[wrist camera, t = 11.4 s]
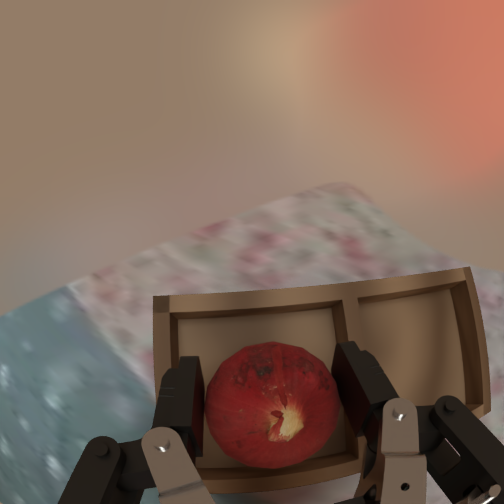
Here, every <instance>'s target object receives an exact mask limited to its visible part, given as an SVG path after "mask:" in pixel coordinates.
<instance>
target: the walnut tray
mask: <svg viewBox="0 0 504 504" xmlns="http://www.w3.org/2000/svg"><path fill="white" fill-rule="evenodd" d="M271 341H274V342H279V343H283V344H288V345H293V346H297V347H302V348H304V349H305V350H307V351H308V352H310V353H311V354H313V355H314V356H316V357H317V358H319V359H320V360H321V361H323V362H324V364H325V365H326V367H327V369H328V370H329V372H330V373H331V367H332V362H333V356H334V351H335V346H336V344H337V343H342V342H348V341H355V343H356V344H357V346H358V347H359V349H360V351H363V350H367V351H368V352H369V353H371V354H372V355H373V356H375V358H376V360H377V361H378V363H379V364H380V366H381V368H382V369H383V371H384V373H385V374H386V376H387V377H388V379H389V380H390V382H391V384H392V385H393V387H394V389H395V390H396V392H397V394H398V395H399V397H400V398H404V399H407V400H409V401H411V402H412V403H413V404H414V405H415V406H426V405H434V404H435V403H436V401H437V400H438V399H439V398H440V397H442V396H445V395H451V396H454V397H456V398H458V399H459V400H460V401H461V402H462V403H463V404H464V405H465V406H466V407H467V408H468V409H469V410H470V411H471V412H472V413H473V414H474V415H475V416H476V417H477V418H478V419H479V418H481V417H482V416H484V415H485V414H487V413H489V412H490V411H491V393H490V374H489V363H488V353H487V345H486V338H485V332H484V326H483V320H482V315H481V310H480V305H479V300H478V296H477V292H476V287H475V283H474V280H473V276H472V272H471V269H470V267H464V268H458V269H451V270H444V271H438V272H430V273H423V274H416V275H408V276H400V277H392V278H384V279H376V280H367V281H358V282H349V283H339V284H329V285H319V286H308V287H296V288H284V289H272V290H258V291H244V292H228V293H211V294H191V295H168V296H153V353H154V377H155V393H156V404H157V399H158V397H159V390H160V385H161V380H162V377H163V375H164V374H165V373H166V371H167V370H168V369H169V368H178V366H179V360H180V357H181V356H199V359H200V364H201V369H202V374H203V379H204V385H205V397H206V391H207V386H208V384H209V382H210V381H211V379H212V378H213V376H214V374H215V373H216V371H217V369H218V368H219V366H220V364H221V363H222V362H223V361H225V360H226V359H228V358H229V357H231V356H232V355H233V354H235V353H236V352H238V351H239V350H241V349H242V348H244V347H245V346H251V345H256V344H261V343H266V342H271ZM339 399H340V398H339ZM340 404H341V406H340V411H339V416H338V421H337V426H336V429H335V430H334V432H333V433H332V434H331V436H330V437H329V439H328V440H327V442H326V443H325V444H324V446H323V447H322V448H321V449H320V450H319V451H317V452H316V453H314V454H313V455H311V456H310V457H308V458H307V459H305V460H304V461H302V462H301V463H297V464H293V465H289V466H285V467H281V468H276V469H270V468H259V467H250V466H247V465H245V464H243V463H241V462H239V461H237V460H235V459H233V458H231V457H229V456H227V455H226V454H225V453H224V452H223V451H222V449H221V448H220V447H219V445H218V444H217V443H216V441H215V440H214V438H213V437H212V435H211V434H210V431H209V428H208V424H207V421H206V417H205V414H204V431H203V457H196V462H195V468H196V470H197V472H198V474H199V476H200V478H201V480H202V481H203V483H204V485H205V486H206V488H207V490H208V492H209V493H210V494H230V493H250V492H262V491H272V490H280V489H287V488H294V487H300V486H305V485H311V484H316V483H321V482H325V481H330V480H334V479H338V478H342V477H346V476H349V475H353V474H356V473H360V472H361V468H362V461H363V454H364V446H365V443H366V441H367V440H366V438H365V436H361V437H358V438H356V437H355V435H354V432H353V430H352V427H351V425H350V422H349V420H348V417H347V415H346V412H345V410H344V408H343V405H342V403H341V400H340Z"/></svg>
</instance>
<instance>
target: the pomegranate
mask: <svg viewBox="0 0 504 504" xmlns="http://www.w3.org/2000/svg"><path fill="white" fill-rule="evenodd" d="M340 406H341V404H340V399H339V394H338V389H337V384H336V381H335V380H334V378H333V377H332V375H331V373H330V372H329V370H328V369H327V367H326V365H325V364H324V362H323V361H321V360H320V359H319V358H317V357H316V356H314V355H313V354H311V353H310V352H308V351H307V350H305V349H304V348H302V347H297V346H293V345H288V344H283V343H279V342H274V341H271V342H266V343H261V344H256V345H251V346H245V347H244V348H242V349H241V350H239V351H238V352H236V353H235V354H233V355H232V356H231V357H229V358H228V359H226V360H225V361H223V362H222V363H221V364H220V366H219V368H218V369H217V371H216V373H215V374H214V376H213V378H212V379H211V381H210V382H209V384H208V386H207V391H206V397H205V404H204V414H205V417H206V421H207V424H208V428H209V431H210V434H211V435H212V437H213V438H214V440H215V441H216V443H217V444H218V445H219V447H220V448H221V449H222V451H223V452H224V453H225V454H226V455H227V456H229V457H231V458H233V459H235V460H237V461H239V462H241V463H243V464H245V465H247V466H250V467H259V468H270V469H276V468H281V467H285V466H289V465H293V464H297V463H301V462H302V461H304V460H305V459H307V458H308V457H310V456H311V455H313V454H314V453H316V452H317V451H319V450H320V449H321V448H322V447H323V446H324V444H325V443H326V442H327V440H328V439H329V437H330V436H331V434H332V433H333V432H334V430H335V429H336V426H337V421H338V416H339V411H340Z"/></svg>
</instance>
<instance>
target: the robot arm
mask: <svg viewBox="0 0 504 504" xmlns="http://www.w3.org/2000/svg"><path fill="white" fill-rule="evenodd" d="M331 375H332V377H333V378H334V380H335V381H336V384H337V389H338V394H339V398H340V400H341V403H342V405H343V408H344V410H345V412H346V415H347V417H348V420H349V422H350V425H351V427H352V430H353V432H354V435H355V437H356V438H358V437H361V436H365V438H366V440H367V441H366V443H365V446H364V454H363V461H362V468H361V475H360V481H359V484H358V487H357V489H356V492H355V495H354V498H352V499H349V500H345V501H342V502H338V503H334V504H426V479H427V471H428V472H429V474H430V475H431V476H432V478H433V479H434V480H435V482H436V483H437V484H438V485H439V487H440V488H441V489H442V491H443V492H444V493H445V495H446V496H447V497H448V499H449V500H450V501H451V503H452V504H504V445H503V444H502V443H501V442H500V441H499V440H498V439H497V438H496V437H495V436H494V435H493V434H492V433H491V432H490V431H489V429H488V428H487V427H486V426H485V425H484V424H483V423H482V422H481V421H480V420H479V419H478V418H477V417H476V416H475V415H474V414H473V413H472V412H471V411H470V410H469V409H468V408H467V407H466V406H465V405H464V404H463V403H462V402H461V401H460V400H459V399H458V398H456V397H454V396H451V395H445V396H442V397H440V398H439V399H438V400H437V401H436V403H435V404H434V405H426V406H415V405H414V404H413V403H412V402H411V401H409V400H407V399H404V398H400V397H399V395H398V394H397V392H396V390H395V389H394V387H393V385H392V384H391V382H390V380H389V379H388V377H387V376H386V374H385V373H384V371H383V369H382V368H381V366H380V364H379V363H378V361H377V360H376V358H375V356H373V355H372V354H371V353H369V352H368V351H367V350H363V351H360V349H359V347H358V346H357V344H356V343H355V341H348V342H342V343H337V344H336V346H335V351H334V356H333V362H332V367H331ZM204 404H205V385H204V379H203V374H202V369H201V364H200V359H199V356H181V357H180V360H179V366H178V368H169V369H168V370H167V371H166V373H165V374H164V375H163V377H162V380H161V385H160V390H159V397H158V399H157V404H156V409H155V415H154V420H153V425H152V428H151V430H149V431H148V432H147V433H146V434H145V435H144V436H143V438H141V439H139V440H136V441H131V442H124V443H117V442H116V441H115V440H114V439H112V438H110V437H107V436H100V437H96V438H94V439H92V440H91V441H90V442H89V443H88V444H87V446H86V447H85V449H84V451H83V453H82V455H81V457H80V459H79V461H78V463H77V465H76V467H75V469H74V471H73V473H72V475H71V477H70V479H69V481H68V483H67V485H66V487H65V489H64V491H63V493H62V496H61V498H60V500H59V502H58V504H140V501H141V498H142V495H143V492H144V489H147V488H153V487H157V489H158V491H159V500H160V503H161V504H216V503H215V502H214V500H213V498H212V497H211V495H210V493H209V492H208V490H207V488H206V486H205V485H204V483H203V481H202V480H201V478H200V476H199V474H198V472H197V470H196V468H195V462H196V457H203V431H204ZM445 438H446V439H447V440H448V441H449V442H450V444H451V445H452V446H453V447H454V448H455V449H456V451H457V452H458V453H459V454H460V456H459V455H458V454H457V453H456V451H455V450H454V449H453V448H452V447H451V446H450V444H449V443H448V442H447V441H446V440H445Z"/></svg>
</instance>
